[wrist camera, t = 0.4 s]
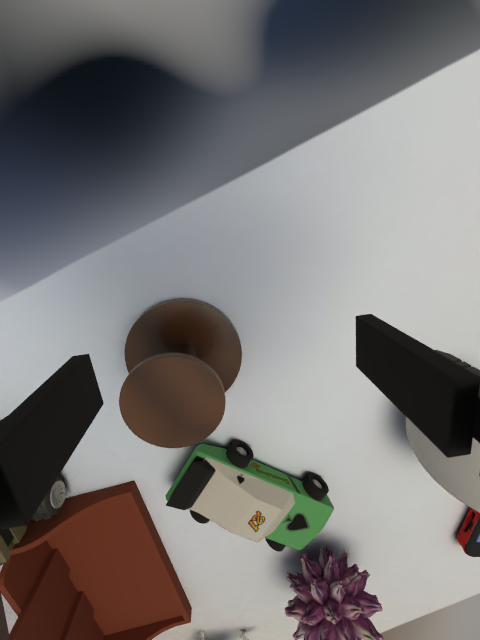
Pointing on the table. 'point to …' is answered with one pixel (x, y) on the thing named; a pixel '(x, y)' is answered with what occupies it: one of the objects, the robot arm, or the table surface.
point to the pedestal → (178, 372)
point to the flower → (332, 600)
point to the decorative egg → (449, 467)
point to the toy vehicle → (33, 518)
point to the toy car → (251, 497)
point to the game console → (470, 533)
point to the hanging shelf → (94, 573)
